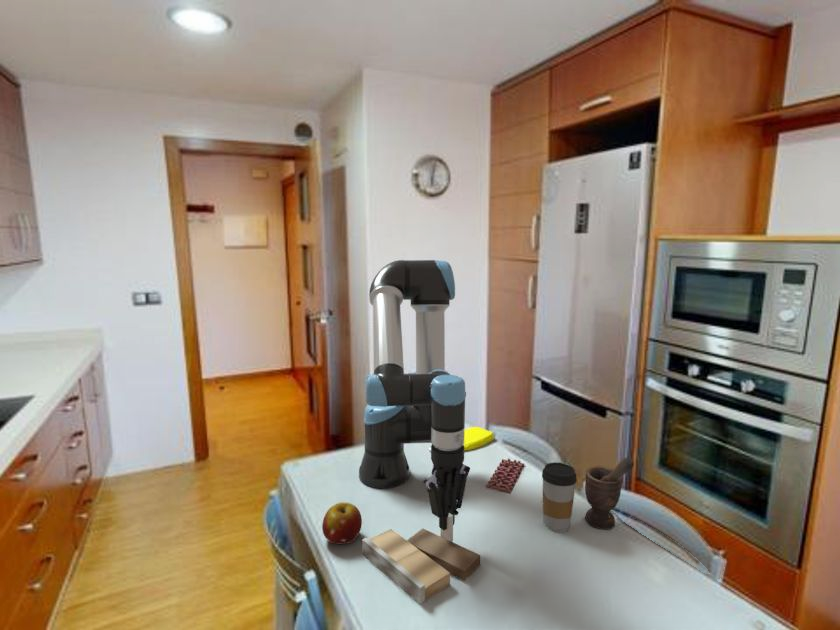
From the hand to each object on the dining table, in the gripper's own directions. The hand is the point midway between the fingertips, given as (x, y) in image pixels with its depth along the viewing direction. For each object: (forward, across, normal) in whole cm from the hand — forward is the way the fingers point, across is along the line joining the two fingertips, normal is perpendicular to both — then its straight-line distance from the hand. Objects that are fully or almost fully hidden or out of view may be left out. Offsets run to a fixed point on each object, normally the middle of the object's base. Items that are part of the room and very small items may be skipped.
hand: (446, 539), depth 114 cm
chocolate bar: (+3, +37, +12) cm, 39 cm away
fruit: (+2, -17, +18) cm, 25 cm away
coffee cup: (+2, +27, -12) cm, 29 cm away
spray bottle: (+3, +43, +36) cm, 56 cm away
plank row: (+2, -12, 0) cm, 12 cm away
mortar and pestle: (+2, +37, -20) cm, 42 cm away
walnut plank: (+2, -4, -2) cm, 5 cm away
